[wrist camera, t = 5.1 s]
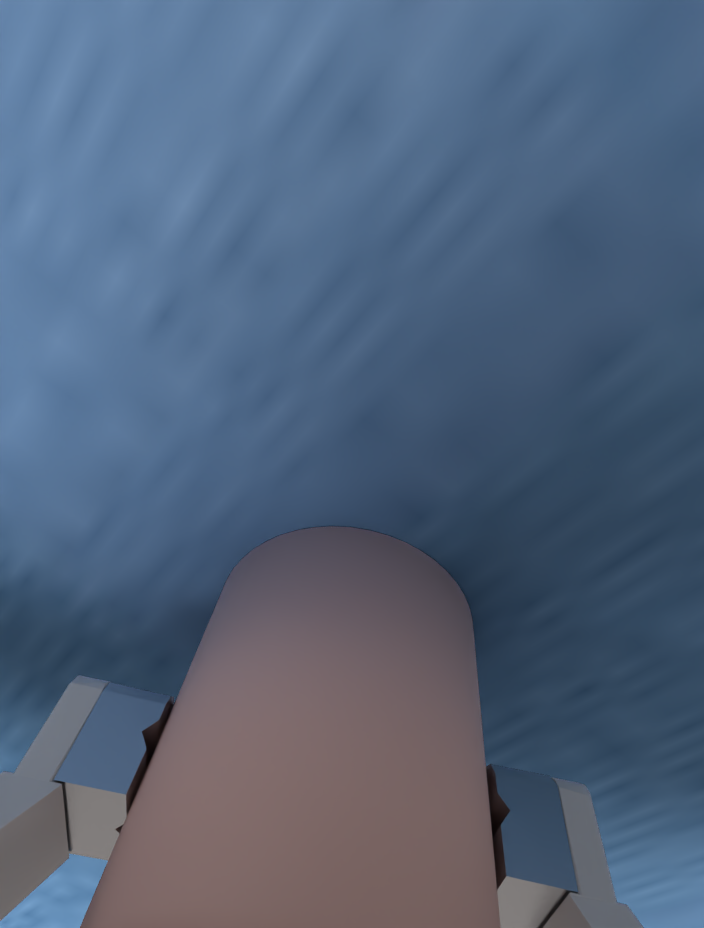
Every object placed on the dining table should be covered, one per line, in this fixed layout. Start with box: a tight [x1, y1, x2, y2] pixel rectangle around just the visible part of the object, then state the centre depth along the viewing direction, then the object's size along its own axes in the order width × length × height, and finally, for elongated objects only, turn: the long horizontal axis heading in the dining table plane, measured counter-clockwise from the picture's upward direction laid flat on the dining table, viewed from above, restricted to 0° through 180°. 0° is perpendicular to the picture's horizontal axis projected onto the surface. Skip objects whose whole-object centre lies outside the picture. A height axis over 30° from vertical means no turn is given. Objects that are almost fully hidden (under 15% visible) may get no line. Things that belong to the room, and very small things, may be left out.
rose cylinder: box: [80, 526, 501, 928], centre depth 9 cm, size 5×5×6 cm
